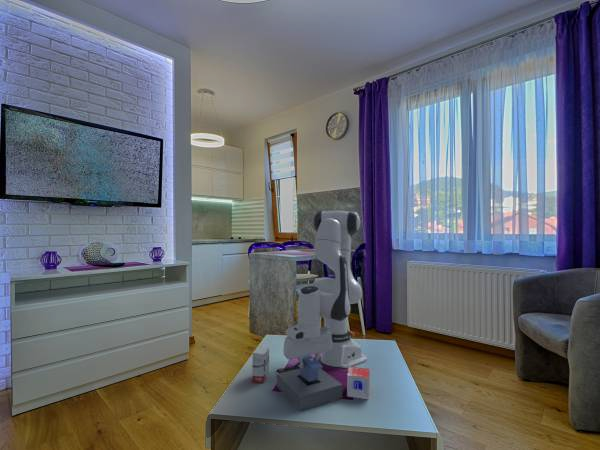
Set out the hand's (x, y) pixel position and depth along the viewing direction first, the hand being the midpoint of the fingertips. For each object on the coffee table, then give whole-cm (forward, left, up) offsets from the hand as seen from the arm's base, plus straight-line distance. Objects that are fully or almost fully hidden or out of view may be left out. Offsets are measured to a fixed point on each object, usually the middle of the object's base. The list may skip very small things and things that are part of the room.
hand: (308, 365), depth 120 cm
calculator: (-2, -17, -10) cm, 20 cm away
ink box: (+12, -19, -10) cm, 25 cm away
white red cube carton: (-17, +9, -10) cm, 22 cm away
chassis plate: (0, 0, -10) cm, 10 cm away
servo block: (0, 0, -4) cm, 4 cm away
